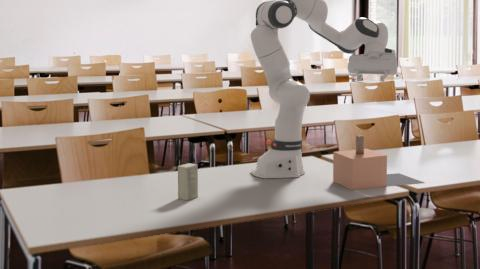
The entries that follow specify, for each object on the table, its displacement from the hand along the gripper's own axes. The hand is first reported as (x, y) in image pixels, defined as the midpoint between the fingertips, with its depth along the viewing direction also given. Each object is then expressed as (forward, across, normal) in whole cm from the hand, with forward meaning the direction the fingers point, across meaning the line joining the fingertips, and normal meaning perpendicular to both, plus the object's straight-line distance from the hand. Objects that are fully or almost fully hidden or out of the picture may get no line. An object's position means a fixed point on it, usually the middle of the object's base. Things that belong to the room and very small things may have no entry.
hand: (370, 80), depth 276 cm
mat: (+33, +11, +23) cm, 42 cm away
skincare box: (+70, -55, -14) cm, 90 cm away
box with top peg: (+40, 0, +15) cm, 43 cm away
